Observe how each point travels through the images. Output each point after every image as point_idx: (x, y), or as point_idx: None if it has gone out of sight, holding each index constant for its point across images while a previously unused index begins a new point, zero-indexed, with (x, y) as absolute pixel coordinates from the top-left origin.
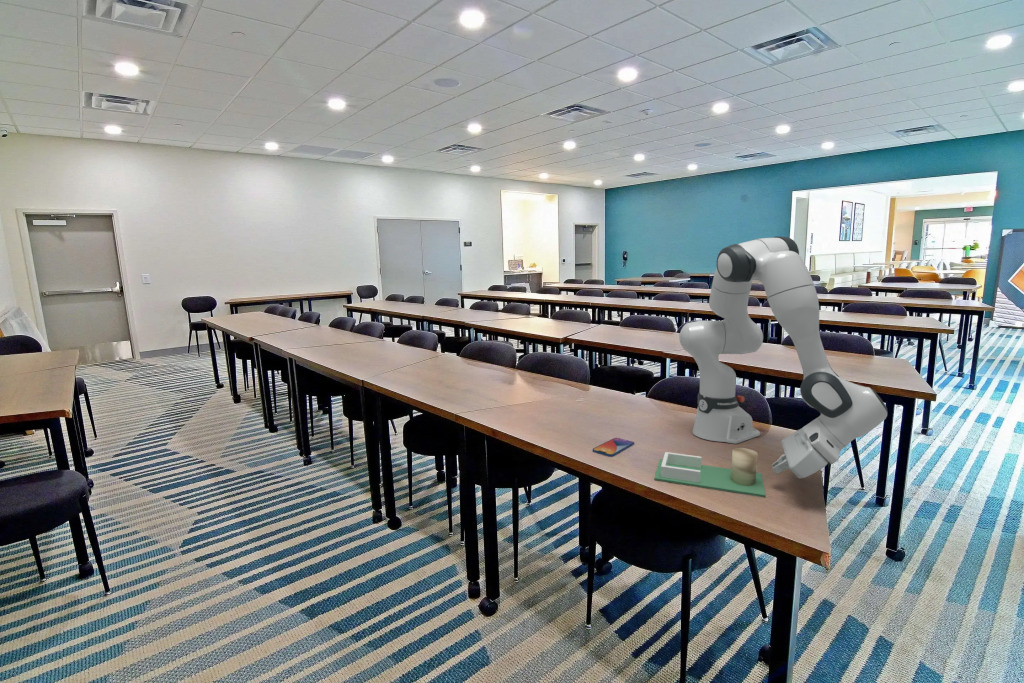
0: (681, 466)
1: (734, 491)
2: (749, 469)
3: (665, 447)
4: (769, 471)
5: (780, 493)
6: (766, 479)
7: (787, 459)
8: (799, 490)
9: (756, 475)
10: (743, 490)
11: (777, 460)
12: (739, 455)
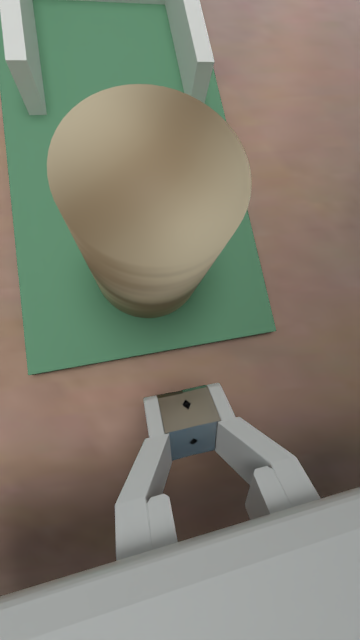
0: (162, 47)
1: (18, 248)
2: (87, 263)
3: (326, 2)
4: (331, 358)
5: (116, 429)
6: (239, 356)
7: (19, 604)
8: (197, 503)
9: (237, 314)
10: (33, 280)
11: (235, 422)
12: (55, 135)
